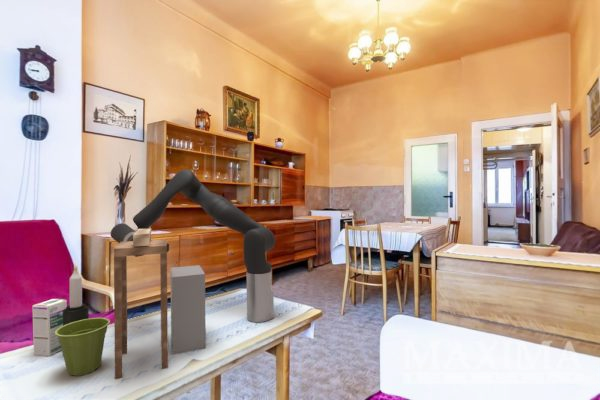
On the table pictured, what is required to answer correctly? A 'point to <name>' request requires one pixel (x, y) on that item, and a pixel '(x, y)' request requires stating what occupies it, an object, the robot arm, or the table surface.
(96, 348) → the plant pot
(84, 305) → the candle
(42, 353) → the syrup box
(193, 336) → the grey rectangular block
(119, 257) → the walnut stool
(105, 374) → the table surface
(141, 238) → the birch bar
